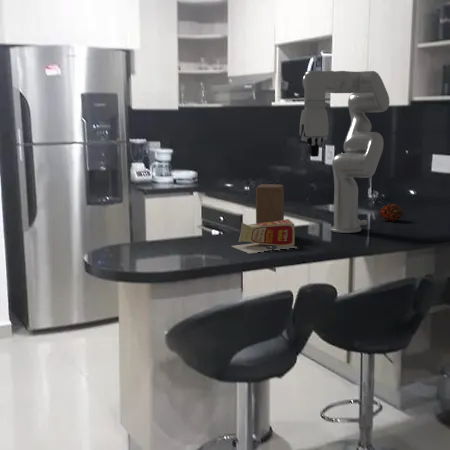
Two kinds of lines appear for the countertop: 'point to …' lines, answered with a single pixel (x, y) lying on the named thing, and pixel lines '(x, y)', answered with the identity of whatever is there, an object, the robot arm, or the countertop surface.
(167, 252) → the countertop surface
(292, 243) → the milk carton
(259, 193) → the wooden block
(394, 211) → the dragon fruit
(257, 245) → the mat
